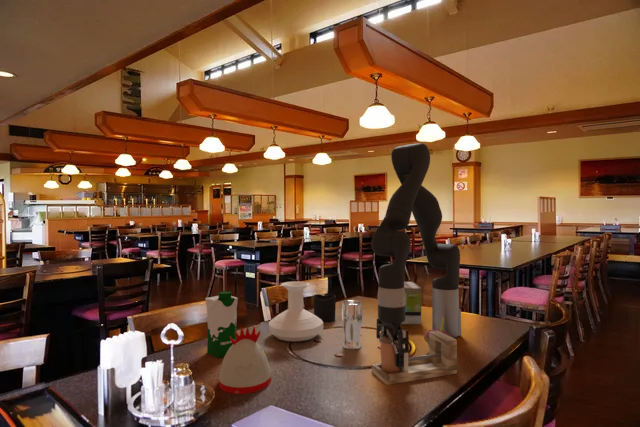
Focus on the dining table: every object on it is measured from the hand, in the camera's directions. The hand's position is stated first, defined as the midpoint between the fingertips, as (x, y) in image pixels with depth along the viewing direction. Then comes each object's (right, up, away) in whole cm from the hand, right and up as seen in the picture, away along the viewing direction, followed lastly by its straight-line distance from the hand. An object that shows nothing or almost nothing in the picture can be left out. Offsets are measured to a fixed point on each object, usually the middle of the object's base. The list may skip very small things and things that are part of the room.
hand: (391, 361), depth 113 cm
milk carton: (-52, -5, +20) cm, 56 cm away
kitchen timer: (-40, -5, -3) cm, 41 cm away
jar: (0, -3, 0) cm, 3 cm away
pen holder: (-18, -4, +57) cm, 60 cm away
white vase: (-29, -4, +36) cm, 46 cm away
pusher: (+11, -3, +4) cm, 12 cm away
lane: (+7, -4, +2) cm, 8 cm away
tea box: (+16, -4, +57) cm, 59 cm away
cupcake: (+18, -4, +19) cm, 26 cm away
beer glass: (-9, -4, +24) cm, 26 cm away
